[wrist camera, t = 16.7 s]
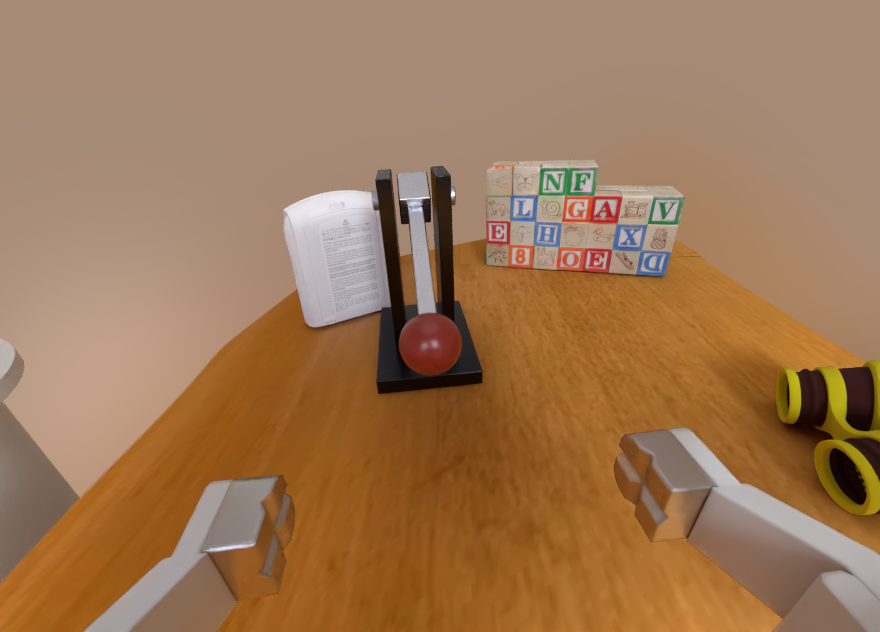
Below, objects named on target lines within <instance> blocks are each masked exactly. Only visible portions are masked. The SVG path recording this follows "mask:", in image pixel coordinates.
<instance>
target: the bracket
mask: <svg viewBox="0 0 880 632" xmlns="http://www.w3.org/2000/svg"><path fill="white" fill-rule="evenodd" d="M431 186H432V204H433V223H434V241H435V260H436V278H437V297H438V303H435V304H436V311H437V313H439V314H442V315H444V316H446V317H448V318H449V319H450V320H452V321H453V322H454V324H455V325H456V326H457V328H458V330H459V332H460V335H461V339H462V349H461V353H460V356H459V358H458V360H457V362H456V363H455V364H454V365H453V366H452V367H451V368H450V369H449V370H447V371H446V372H444V373H442V374H438V375H432V376H429V375H422V374H419V373H417V372H415V371H413V370H412V369H411V368H409V367H408V366H407V364H406V363H405V362H404V360H403V359H402V356H401V354H400V350H399V338H400V334H401V332H402V329H403V328H404V326H405V325H406V324H407V322H408V321H409V320H411V319H412V318H413V317H415V316H417V315H418V311H417V305H406V306H405V301H404V291H403V281H402V272H401V262H400V253H399V243H398V233H397V224H396V213H395V204H394V193H393V184H392V174H391V169H388V170H378V173H377V176H376V189H377V191H372V203H373V209H374V211H379V214H380V222H381V230H382V238H383V246H384V254H385V262H386V271H387V279H388V287H389V295H390V303H391V307H383V308H381V321H380V336H379V351H378V367H377V388H378V393H379V394H382V393H392V392H401V391H411V390H420V389H430V388H440V387H449V386H459V385H468V384H478V383H482V368H481V365H480V362H479V359H478V356H477V353H476V350H475V347H474V344H473V341H472V338H471V335H470V332H469V329H468V326H467V323H466V320H465V317H464V314H463V311H462V309H461V306H460V303H459V301H454V269H453V237H452V236H453V235H452V205H455V202H456V194H455V187H454V185H453V186H452V185H451V176H450V174H449V173H448V172H447V170H446V169H445V168H444V167H443V166H435V167H431Z"/></svg>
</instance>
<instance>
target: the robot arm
mask: <svg viewBox="0 0 880 632" xmlns="http://www.w3.org/2000/svg"><path fill="white" fill-rule="evenodd" d="M619 446H620V447H621V449H622V450H623V452H622V453H621V454H620V455H618V456H617V457H616V459H615V464H614V473H615V479H616V482H617V484H618V487H619V489H620V491H621V493H622V494H623V496H624V498H626V499H627V500H629V501H630V502H632V503H633V504H634V505H636V507H635V516H636V518H637V520H638V521H639V523H640V525H641V526H642V528H643V530H644V531H645V533H646V535H647V536H648V538H649V540H650V541H651V543H652V542H661V541H670V540H680V539H687V541H688V542H689V543H690V544H691V545H693V546H694V547H695V548H696V549H698V550H699V551H700V552H701V553H702V554H704V555H705V556H706V557H707V558H709V559H710V560H711V561H712V562H714V563H715V564H716V565H717V566H719V567H720V568H721V569H722V570H723V571H725V572H726V573H727V574H728V575H730V576H731V577H732V578H733V579H735V580H736V581H737V582H738V583H739V584H741V585H742V586H743V587H744V588H746V589H747V590H748V591H749V592H751V593H752V594H753V595H754V596H755V597H757V598H758V599H759V600H760V601H762V602H763V603H764V604H765V605H767V606H768V607H769V608H770V609H771V610H773V611H774V612H775V613H776V614H778V615H779V616H780V617H781V618H783V619H782V621H781V622H780V623H779V624H778V625H777V627H776V628H775V629H774V630H773V631H772V632H880V554H879V553H877V552H875V551H873V550H871V549H869V548H868V547H866V546H864V545H862V544H860V543H858V542H856V541H854V540H853V539H851V538H849V537H847V536H845V535H843V534H841V533H840V532H838V531H836V530H834V529H832V528H830V527H828V526H826V525H825V524H823V523H821V522H819V521H817V520H815V519H813V518H811V517H810V516H808V515H806V514H804V513H802V512H800V511H798V510H797V509H795V508H793V507H791V506H789V505H787V504H785V503H783V502H782V501H780V500H778V499H776V498H774V497H772V496H770V495H768V494H767V493H765V492H763V491H761V490H759V489H757V488H755V487H754V486H752V485H750V484H748V483H743V484H741V483H740V482H739V481H738V480H737V479H736V478H735V477H734V476H733V475H732V474H731V472H730V471H729V470H728V469H727V468H726V467H725V466H724V465H723V464H722V463H721V462H720V461H719V460H718V458H717V457H716V456H715V455H714V454H713V453H712V452H711V451H710V450H709V449H708V448H707V447H706V446H705V444H704V443H703V442H702V441H701V440H700V439H699V438H698V437H697V436H696V435H695V434H694V433H693V432H692V431H691V430H690V429H688V428H686V427H683V428H674V429H666V430H655V431H647V432H639V433H632V434H625V435H624V436H623V437H622V438H621V441H620V444H619ZM286 486H287V483H286V481H285V479H284V476H283V475H275V476H264V477H252V478H241V479H232V480H222V481H212V482H211V483H210V484H209V485H208V486H207V487H206V488H205V490H204V492H203V494H202V496H201V498H200V500H199V502H198V504H197V506H196V508H195V510H194V512H193V514H192V516H191V518H190V520H189V522H188V524H187V526H186V528H185V530H184V532H183V534H182V536H181V538H180V540H179V542H178V544H177V546H176V548H175V550H174V552H173V554H172V556H171V557H168V558H163V559H162V560H161V561H160V562H159V563H158V564H157V565H155V566H154V567H153V568H152V569H151V570H150V571H149V572H148V573H147V574H146V575H144V576H143V577H142V578H141V579H140V580H139V581H138V582H137V583H136V584H135V585H134V586H132V587H131V588H130V589H129V590H128V591H127V592H126V593H125V594H124V595H123V596H121V597H120V598H119V599H118V600H117V601H116V602H115V603H114V604H113V605H112V606H111V607H109V608H108V609H107V610H106V611H105V612H104V613H103V614H102V615H101V616H100V617H98V618H97V619H96V620H95V621H94V622H93V623H92V624H91V625H90V626H89V627H88V628H86V629H85V630H84V631H83V632H217V631H218V630H219V628H220V627H221V625H222V624H223V623H224V621H225V620H226V619H227V617H228V616H229V615H230V613H231V612H232V611H233V609H234V608H235V606H236V605H237V601H240V600H246V599H252V598H258V597H264V596H270V595H276V594H279V591H280V586H281V582H282V578H283V574H284V570H285V566H286V558H285V556H284V553H283V550H284V548H285V547H286V546H287V545H288V544H289V543H290V541H291V540H292V536H293V531H294V525H295V508H294V502H293V500H292V497H291V496H289V495H288V494H286V493H285V490H286Z"/></svg>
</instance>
